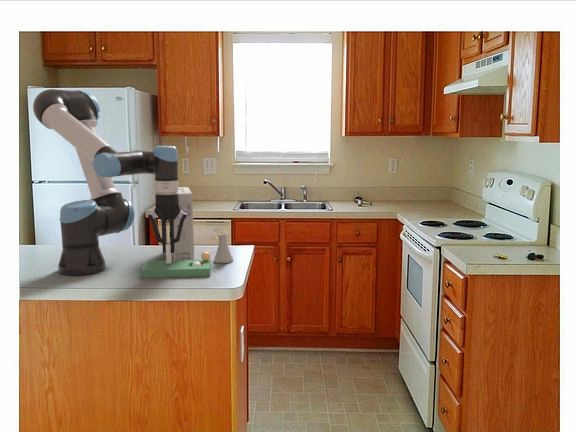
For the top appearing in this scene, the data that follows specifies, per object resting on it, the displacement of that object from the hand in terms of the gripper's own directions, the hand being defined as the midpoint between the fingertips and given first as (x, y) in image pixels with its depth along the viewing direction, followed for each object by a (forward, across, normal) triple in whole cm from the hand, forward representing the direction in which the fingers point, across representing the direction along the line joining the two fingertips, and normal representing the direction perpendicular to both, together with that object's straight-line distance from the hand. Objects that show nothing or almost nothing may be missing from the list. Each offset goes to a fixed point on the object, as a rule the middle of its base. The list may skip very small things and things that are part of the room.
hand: (168, 262), depth 178 cm
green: (+3, +3, 0) cm, 4 cm away
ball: (+1, +9, -1) cm, 9 cm away
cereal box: (+4, +2, +25) cm, 25 cm away
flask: (+4, +18, +12) cm, 22 cm away
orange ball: (-1, +12, +4) cm, 13 cm away
